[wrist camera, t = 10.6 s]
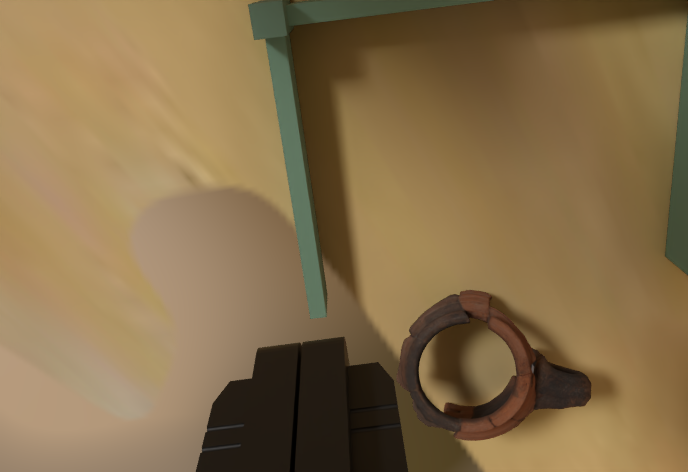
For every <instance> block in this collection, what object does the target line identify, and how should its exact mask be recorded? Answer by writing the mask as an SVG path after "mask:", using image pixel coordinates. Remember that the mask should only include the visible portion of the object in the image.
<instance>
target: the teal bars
mask: <svg viewBox="0 0 688 472" xmlns="http://www.w3.org/2000/svg"><path fill="white" fill-rule="evenodd" d="M484 1H492V0H309V1H301V2H294V3H290V0H263V1H258V2H255V3H252V4H248V7H249V12H250V18H251V24H252V30H253V36H254V40H258V39H265V40H266V46H267V52H268V59H269V65H270V71H271V77H272V83H273V90H274V96H275V102H276V108H277V114H278V121H279V127H280V133H281V139H282V145H283V152H284V158H285V164H286V170H287V176H288V183H289V189H290V195H291V201H292V207H293V213H294V220H295V226H296V232H297V238H298V244H299V250H300V257H301V263H302V269H303V275H304V281H305V288H306V294H307V300H308V306H309V313H310V319H313V318H322V317H327V289H326V282H325V275H324V268H323V261H322V254H321V248H320V241H319V234H318V227H317V220H316V213H315V207H314V200H313V193H312V186H311V179H310V172H309V166H308V159H307V152H306V145H305V138H304V131H303V125H302V118H301V111H300V104H299V97H298V91H297V84H296V77H295V70H294V63H293V56H292V50H291V43H290V36H289V33H290V32H291V31H292V29H293V28H294V26H295V25H303V24H311V23H318V22H326V21H334V20H342V19H350V18H358V17H366V16H374V15H382V14H389V13H397V12H405V11H413V10H421V9H429V8H437V7H445V6H453V5H461V4H468V3H476V2H484ZM665 256H666V257H667V258H668V259H669V260H670V261H671V262H673V263H674V264H675V265H676V266H677V267H679V268H680V269H681V270H682V271H683V272H684V273H686V274H687V275H688V17H687V28H686V38H685V49H684V60H683V70H682V81H681V92H680V102H679V113H678V124H677V134H676V145H675V156H674V166H673V177H672V188H671V198H670V209H669V220H668V231H667V241H666V252H665Z"/></svg>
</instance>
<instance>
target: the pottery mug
mask: <svg viewBox="0 0 688 472" xmlns="http://www.w3.org/2000/svg"><path fill="white" fill-rule="evenodd" d="M491 299H492V296H491V295H489V294H488V293H486V292H481V291H473V290H466V291H462V292H460V295H456V294H453V295H450V296H448V297H446V298H444V299H443V300H441V301H439V302H438V303H436V304H435V305H433V306H432V307H431V308H429V309H428V310H427V311H425V312H424V313H423V314H422V315H421V316H420V317H419V318H418V319H417V320H416V321H415V322H414V324H413V325H412V326H411V327H410V329H409V332H410V334H411V335H410V336H409V337H408V338H406V339H405V340H404V342H403V345H402V349H401V356H400V363H399V369H398V373H397V382H398V383H400V385H401V386H402V387H403V388H404V389H406V390H407V391H409V392H410V395H411V397H412V399H413V408H414V410H415V412H416V413H417V417H418V419H419V420H420V421H422V422H423V423H424V424H425V425H427V426H430V427H431V426H433V427H438V428H444V429H446V430H450V431H453V432H455V433H454V437H455V438H457V439H462V440H475V441H476V440H485V439H490V438H494V437H497V436H499V435H502V434H504V433H506V432H508V431H510V430H512V429H513V428H515V427H517V426H518V425H519V424H520V423H521V422H522V421H523V420H524V419H525V417H527V416H528V415H529V414H530V413H531V412H532V411H533V410H537V409H547V408H549V409H564V408H568V407H576V406H580V407H581V406H585V405H586V403H587V402H588V401H589V400H590V398H591V382H590V380H589V379H588V377H587V376H586V375H585V374H583V373H581V372H579V371H575V370H572V369H569V368H565V367H561V366H558V365H555V364H552V363H550V362H548V361H547V360H546V358H545V356H543V355H542V354H540V353H539V352H538V351H537V350H535V349H533V348H531V346H530V345H529V343H528V342H527V340H526V338H525V336H524V335H523V334H522V332H521V331H520V330H519V329H518V328H517V327H516V326H515V325H514V323H513V322H512V321H511V320H510V319H509V318H508V317H507V316H506V315H504V314H503V313H502V312H500V311H499V310H497V309H495V308H493V307H490V300H491ZM469 318H475V319H480V320H483V321H485V322H487V323H488V328H489V329H490V330H492V331H493V332H495V333H496V334H497V335H499V336H500V337H501V338H502V339H503V340H504V341H505V342H506V344H507V345H508V347H509V348H510V350H511V352H512V354H513V357H514V360H515V364H516V372H517V376H512V377H511V379H510V381H509V383H508V385H507V386H506V388H505V389H504V390H503V392H502V393H501V394H500V395H498V396H497V397H496V398H494V399H493V400H491V401H490V402H488V403H486V404H483V405H479V406H459V405H455V404H451V403H446V404H445V407H444V412H442V411H440V410H439V409H438V408H436V407H435V406H434V405H433V404H432V403H431V402H430V401H429V399H428V398H427V397H426V395H425V393H424V392H423V390H422V387H421V384H420V380H419V362H420V358H421V355H422V352H423V350H424V349H425V347H426V345H427V344H428V342H430V340H431V339H432V338H433V337H434V336H435V335H437V334H438V333H439V332H440V331H442V330H444V329H446V328H448V327H451V326H454V325H458V324H465V323H470V319H469Z"/></svg>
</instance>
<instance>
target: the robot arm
mask: <svg viewBox="0 0 688 472" xmlns="http://www.w3.org/2000/svg"><path fill="white" fill-rule="evenodd" d="M196 472H408V468H407V462H406V456H405V449H404V443H403V436H402V430H401V424H400V417H399V412H398V405H397V399H396V392H395V386H394V380H393V379H392V378H391V377H390V376H389V374H388V373H387V372H386V371H385V370H384V369H383V367H382V366H381V365H380V364H379V363H378V362H376V363H369V364H361V365H353V366H350V365H349V359H348V353H347V346H346V341H345V337H338V338H331V339H323V340H315V341H308V342H303V344H302V345H301V343H293V344H285V345H278V346H270V347H262V348H258V350H257V353H256V358H255V364H254V371H253V377H252V379H244V380H237V381H230V382H229V384H228V385H227V386H226V387H225V389H224V390H223V391H222V392H221V394H220V395H219V396H218V398H217V399H216V400H215V401H214V403H213V405H212V409H211V413H210V417H209V421H208V425H207V432H206V433H205V437H204V441H203V445H202V453H200V457H199V461H198V465H197V469H196Z"/></svg>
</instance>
